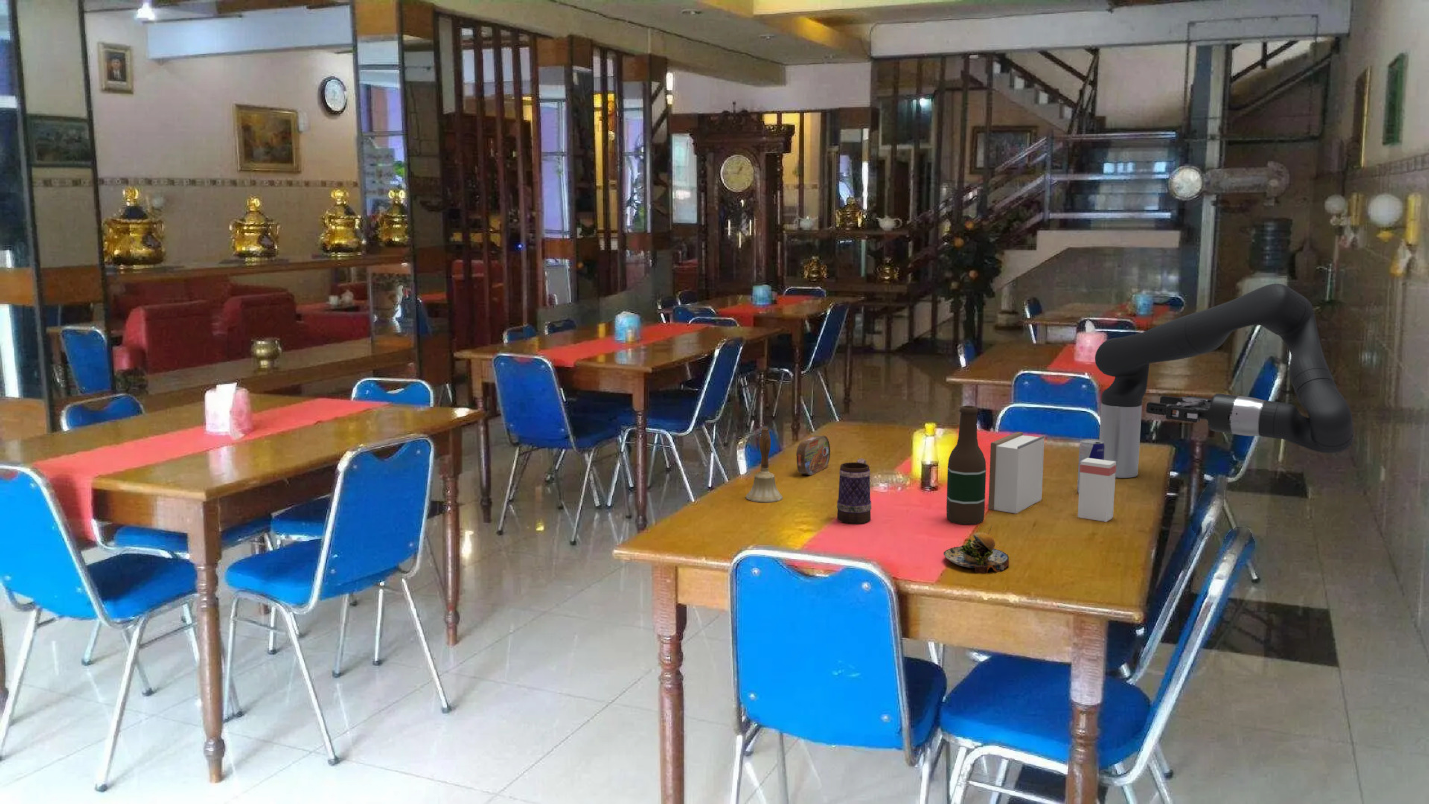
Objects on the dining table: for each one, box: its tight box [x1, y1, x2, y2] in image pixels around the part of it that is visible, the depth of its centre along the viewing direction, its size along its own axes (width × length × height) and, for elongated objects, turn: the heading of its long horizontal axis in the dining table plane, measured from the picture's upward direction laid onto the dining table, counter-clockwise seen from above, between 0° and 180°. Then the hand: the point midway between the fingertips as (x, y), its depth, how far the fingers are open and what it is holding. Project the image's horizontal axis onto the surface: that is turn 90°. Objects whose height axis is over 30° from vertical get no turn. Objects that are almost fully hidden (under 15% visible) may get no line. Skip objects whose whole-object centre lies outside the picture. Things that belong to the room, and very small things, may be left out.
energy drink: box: [1077, 438, 1105, 494], centre depth 256 cm, size 5×5×12 cm
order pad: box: [987, 431, 1045, 514], centre depth 247 cm, size 14×6×15 cm, turn 142°
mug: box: [836, 457, 872, 525], centre depth 237 cm, size 10×7×12 cm
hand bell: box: [745, 427, 783, 503], centre depth 253 cm, size 8×8×16 cm
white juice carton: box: [1077, 458, 1116, 523], centre depth 236 cm, size 4×6×12 cm
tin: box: [795, 435, 831, 476], centre depth 279 cm, size 15×3×8 cm, turn 150°
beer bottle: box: [946, 405, 987, 526], centre depth 234 cm, size 8×8×24 cm
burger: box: [943, 525, 1010, 574], centre depth 207 cm, size 12×12×8 cm
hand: (1153, 404), depth 232 cm, fingers open, 8 cm apart
